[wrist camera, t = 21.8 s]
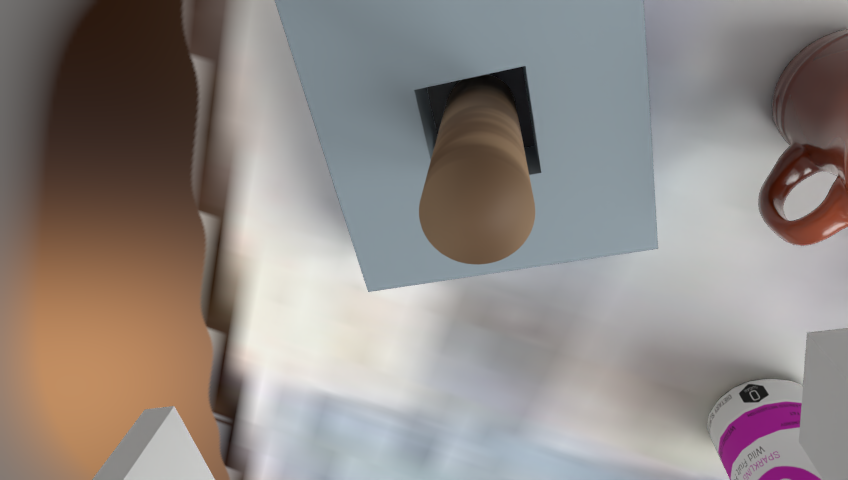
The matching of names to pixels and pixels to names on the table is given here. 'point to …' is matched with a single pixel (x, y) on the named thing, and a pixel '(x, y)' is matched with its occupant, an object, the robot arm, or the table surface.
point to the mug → (811, 140)
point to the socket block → (465, 58)
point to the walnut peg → (478, 176)
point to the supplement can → (761, 432)
